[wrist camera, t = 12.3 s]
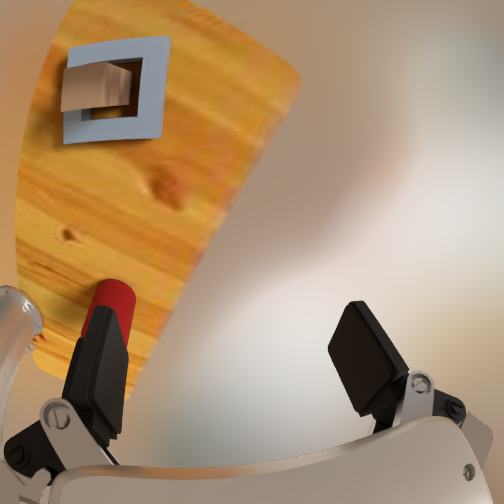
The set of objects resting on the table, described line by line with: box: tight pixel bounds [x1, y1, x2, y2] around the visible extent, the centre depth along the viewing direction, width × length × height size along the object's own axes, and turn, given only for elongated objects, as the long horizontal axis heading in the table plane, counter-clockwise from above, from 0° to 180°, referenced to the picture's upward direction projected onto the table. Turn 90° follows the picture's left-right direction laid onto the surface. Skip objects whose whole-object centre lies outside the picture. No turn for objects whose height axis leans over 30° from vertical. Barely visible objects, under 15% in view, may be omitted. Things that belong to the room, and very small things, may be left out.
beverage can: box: [81, 280, 136, 349], centre depth 34 cm, size 7×7×12 cm
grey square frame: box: [63, 36, 172, 144], centre depth 24 cm, size 12×12×3 cm
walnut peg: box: [61, 62, 135, 112], centre depth 20 cm, size 4×4×11 cm
